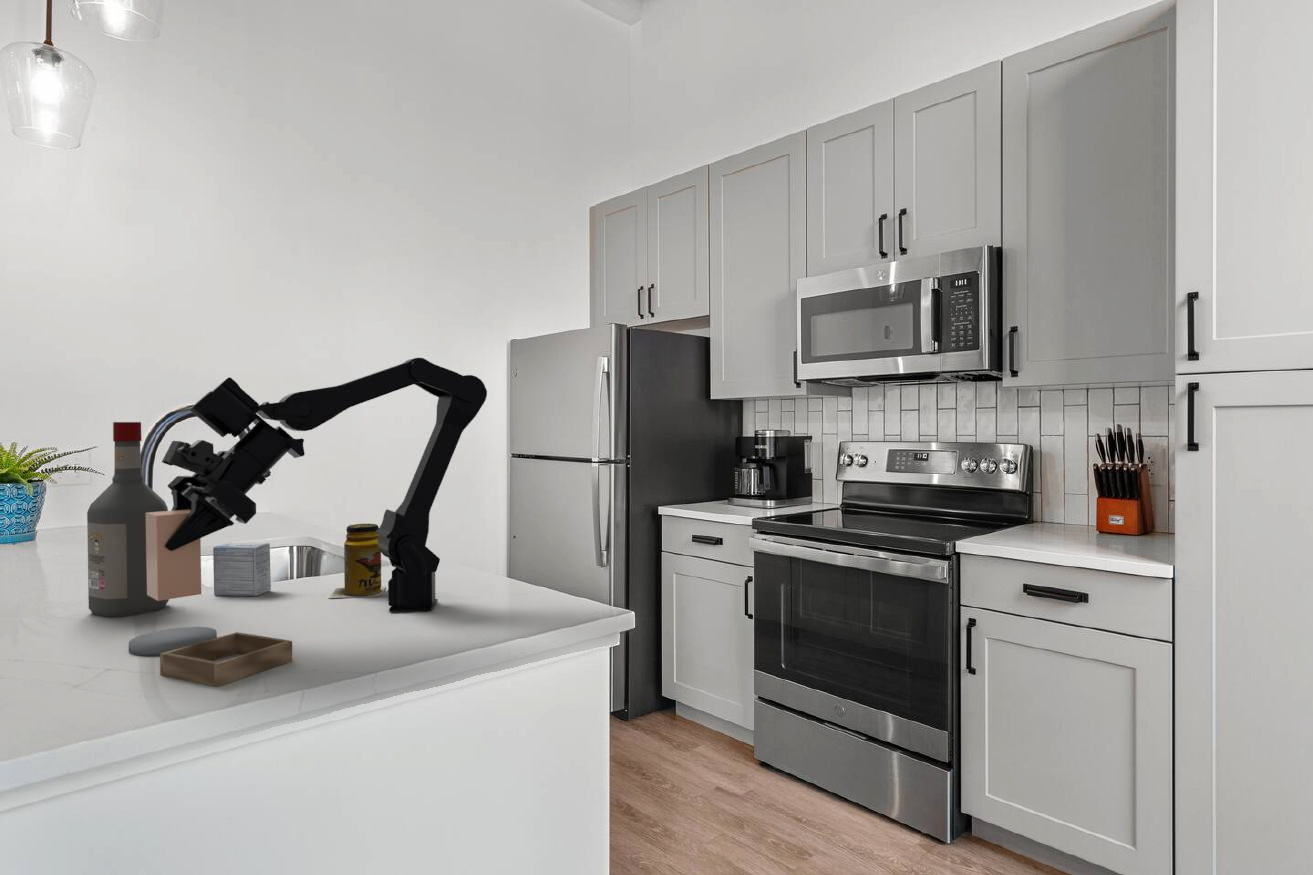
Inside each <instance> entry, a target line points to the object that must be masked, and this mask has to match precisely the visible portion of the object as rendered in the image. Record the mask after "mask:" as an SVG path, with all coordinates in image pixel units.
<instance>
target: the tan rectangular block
mask: <svg viewBox="0 0 1313 875" xmlns="http://www.w3.org/2000/svg"><path fill="white" fill-rule="evenodd" d="M190 511H191V510H189V509H187V510H174V511H171V510H168V511H161V512H149V513H146V564H147V595H148V596H150V597H152V598H154V599H155V600H157V601H160V600H167V599H169V600H173V599H179V598H185V597H191V596H198V595H202V551H201V550H202V549H201V548H202V547H201V545H202V544H201V543H202V542H201V541H202V540H201V539H202V538H200V539H197V540H195V541H193V542H191V543H189V544H186V545H184V546H182V547H180V548H178V549H175V550H173V551H170V550H168V549H167V548H166V547H165V544H166V543H167V541H168V540H169V538H170V537H171V536H172V534H173V533H174V532H175V531H176V529H177V528H178V527H179V525H180V524H181V523H182V522H183V520H184V519H185V518H186V516H187V515H188V514H189V513H190Z"/></svg>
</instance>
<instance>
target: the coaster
mask: <svg viewBox="0 0 1313 875" xmlns="http://www.w3.org/2000/svg"><path fill="white" fill-rule="evenodd" d="M214 638H218V631H217V629H215V628H212V627H208V626H207V627H206V626H184V627H174V628H173V627H172V628H167V629H161V630H156V631H152V632H148V633H144V634H140V635H139V636H136V637H134V638H131V639H130V640H129V641H128V652H129V654H132V655H136V656H160V654H161V653H164V652H168V651H171V650H175V649H178V648H182V647H186V646H189V645H193V644H196V643H200V642H203V641H207V640H211V639H214Z"/></svg>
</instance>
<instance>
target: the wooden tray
mask: <svg viewBox="0 0 1313 875" xmlns="http://www.w3.org/2000/svg"><path fill="white" fill-rule="evenodd" d="M235 654H240V655H238V656H235V657H231V658H228V659H225V660H221V661H215V660H217V659H221V658H224V657H228V656H230V655H235ZM290 662H293V640H289V639H282V638H275V637H270V636H262V635H258V634H251V633H244V632H238V631H236V632H233V633H229V634H225V635H222V636H217V638H214V639H211V640H207V641H203V642H200V643H196V644H193V645H189V646H186V647H182V648H178V649H175V650H171V651H168V652H164V653H161V654H160V655H159V671H160V672H159V675H161V676H166V677H169V678H174V679H179V680H186V681H190V682H195V683H198V684H199V683H200V684H203V685H204V684H205V685H209V686H212V687H213V686H214V687H221V686H223V685H227V684H229V683H232V682H235V681H238V680H240V679H244V678H246V677H249V676H252V675H255V674H258V673H261V672H264V671H267V670H269V669H274V668H276V667H278V666H281V665H284V664H287V663H290Z"/></svg>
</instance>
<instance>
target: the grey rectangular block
mask: <svg viewBox="0 0 1313 875" xmlns="http://www.w3.org/2000/svg"><path fill="white" fill-rule="evenodd" d="M212 552H213V553H212V554H213V556H212V557H213V559H212V560H213V561H212V562H213V595H214V596H243V597H251V596H252V597H257V596H260V595H264V594H266V593H269V592H271V591H272V580H271V579H272V577H271V545H270V543H269V542H227V543H226V542H225V543H221V544H218V545H215V546H213V548H212Z"/></svg>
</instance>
